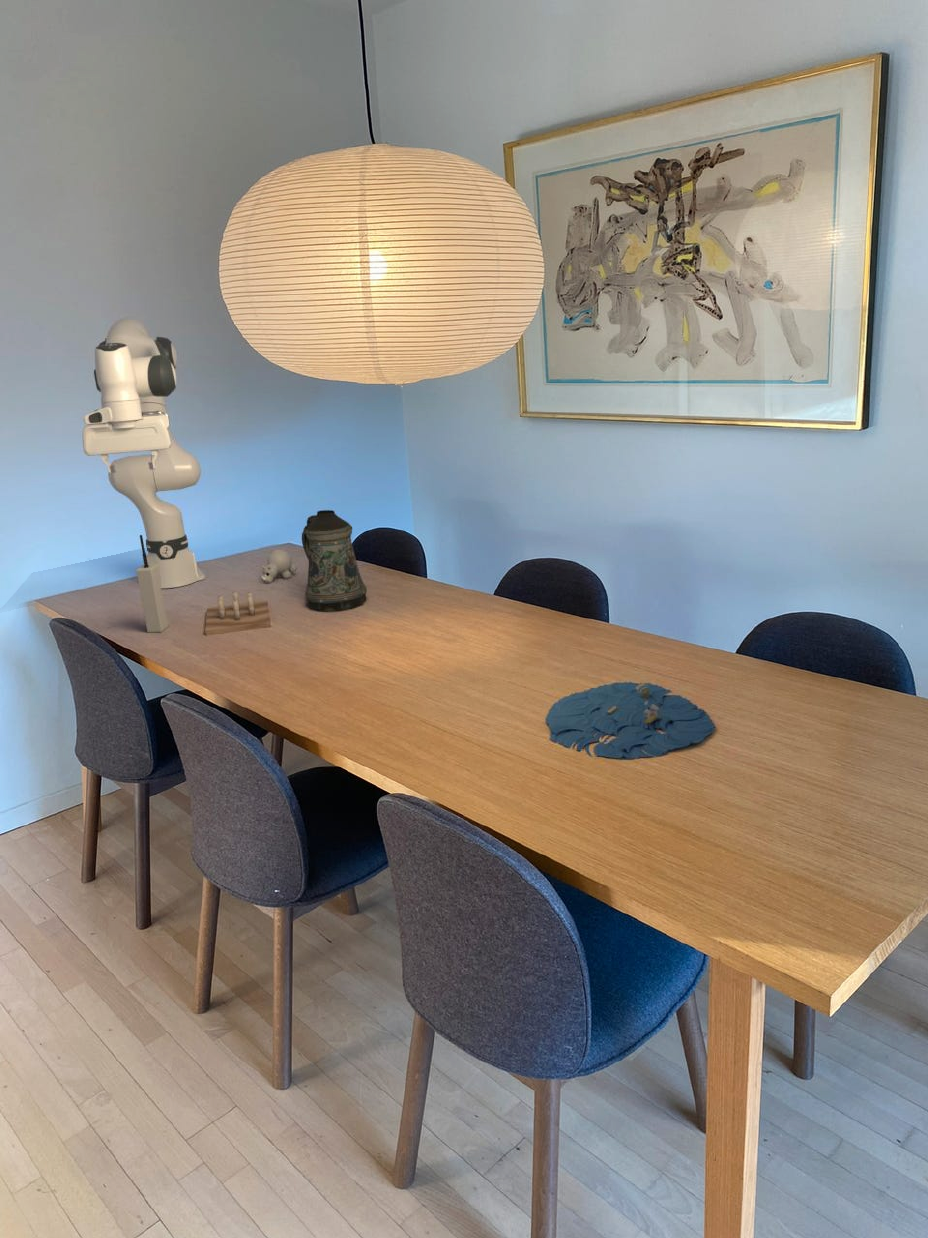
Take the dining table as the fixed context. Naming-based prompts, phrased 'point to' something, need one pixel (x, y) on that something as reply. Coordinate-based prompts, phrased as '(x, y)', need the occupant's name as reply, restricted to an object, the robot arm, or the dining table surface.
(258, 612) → the pin dock
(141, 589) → the vintage mobile phone
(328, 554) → the beer stein
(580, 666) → the dining table surface
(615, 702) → the decorative plate
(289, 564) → the round bodied animal figurine
